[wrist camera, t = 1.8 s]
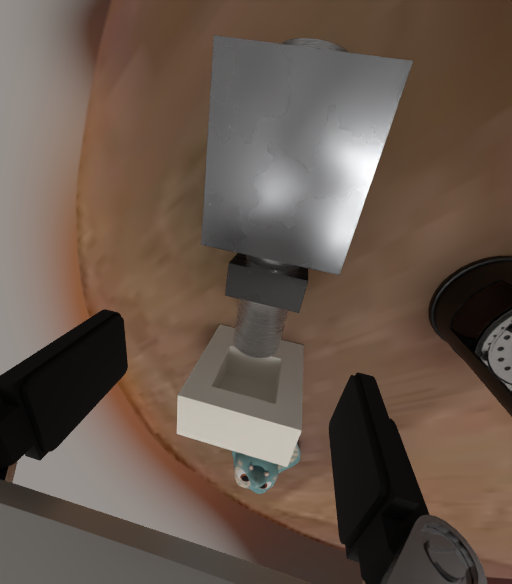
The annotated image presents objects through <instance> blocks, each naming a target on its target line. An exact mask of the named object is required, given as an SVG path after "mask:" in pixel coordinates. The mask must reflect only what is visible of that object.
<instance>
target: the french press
mask: <svg viewBox="0 0 512 584" xmlns="http://www.w3.org/2000/svg"><path fill="white" fill-rule="evenodd" d="M499 281H501V282H503V283H505V284H507V285H509V286H511V287H512V256H498V257H492V258H486V259H483V260H480V261H477V262H474V263H471V264H469V265H467V266H465V267H463V268H461V269H459V270H458V271H456V272H455V273H453V274H452V275H450V276H449V277H448V278H447V279H446V280H445V281H444V282H443V283H442V284H441V285H440V287H439V288H438V289H437V290H436V292H435V294H434V296H433V298H432V300H431V303H430V307H429V319H430V322H431V326H432V327H433V329H434V331H435V332H436V333H437V334H438V335H439V336H440V337H441V338H442V339H443V340H444V341H446V342H447V343H448V344H449V345H450V346H451V347H452V349H453V350H454V351H455V352H456V353H457V354H458V355H459V356H460V357H461V358H462V359H463V360H464V361H465V362H466V363H467V364H468V365H469V367H470V368H471V369H472V370H473V371H474V373H475V374H476V375H477V376H478V377H479V379H480V380H481V381H482V382H483V383H484V384H485V386H486V387H487V388H488V389H489V390H490V392H491V393H492V394H493V395H494V396H495V397H496V399H497V400H498V401H499V402H500V403H501V405H502V406H503V407H504V408H505V409H506V410H507V412H508V413H509V414H510V415H511V416H512V306H511V307H509V308H507V309H506V310H504V311H502V312H501V313H499V314H498V315H497V316H495V317H494V318H493V319H492V320H490V321H489V322H488V324H487V325H486V326H485V327H484V328H483V329H482V330H481V332H480V333H479V335H478V336H477V338H476V339H474V338H469V337H465V336H462V335H460V334H458V333H457V332H455V331H454V330H453V329H452V325H453V321H454V318H455V317H456V315H457V313H458V311H459V310H460V309H461V308H462V306H463V305H464V304H465V303H466V302H467V301H468V300H469V299H470V298H472V297H473V296H474V295H475V294H476V293H478V292H480V291H481V290H483V289H485V288H486V287H488V286H490V285H492V284H495V283H497V282H499Z"/></svg>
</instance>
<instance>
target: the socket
mask: <svg viewBox="0 0 512 584" xmlns="http://www.w3.org/2000/svg"><path fill="white" fill-rule="evenodd" d="M234 333H235V328H233V327H229V326H225V325H221V324H220V325H219V327H218V328H217V330H216V332H215V333H214V335H213V337H212V338H211V340H210V342H209V343H208V345H207V347H206V348H205V350H204V352H203V354H202V355H201V357H200V359H199V360H198V362H197V364H196V365H195V367H194V369H193V370H192V372H191V374H190V375H189V377H188V379H187V380H186V382H185V384H184V386H183V387H182V389H181V391H180V392H179V394H178V407H177V434H179V435H182V436H186V437H189V438H192V439H196V440H199V441H202V442H205V443H209V444H212V445H215V446H219V447H222V448H225V449H229V450H232V451H235V452H238V453H242V454H245V455H248V456H252V457H255V458H258V459H262V460H265V461H268V462H271V463H275V464H278V465H281V466H285V467H288V464H289V462H290V459H291V457H292V454H293V452H294V449H295V446H296V444H297V441H298V439H299V436H300V434H301V431H302V399H303V359H304V345H301V344H297V343H293V342H289V341H285V340H280V344H279V348H278V351H277V352H276V353H275V354H274V355H272V356H270V357H267V358H254V357H250V356H247V355H245V354H243V353H241V352H240V351H239V350H238V349H237V348H236V347H235V345H234V341H233V340H234Z"/></svg>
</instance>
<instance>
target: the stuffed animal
mask: <svg viewBox="0 0 512 584" xmlns="http://www.w3.org/2000/svg"><path fill="white" fill-rule="evenodd" d="M232 455H233V459H234V473H235V480H236V482H237V483H238V485H239V486H241V487H243V488H249V489H251V490H252V491H253V492H255V493H257V494H262V493H264V492H266V491H267V490H268V489H269V488H271V487H272V486H273V485H274V483H275V481H276V479H277V477H278V474H279V473H281V472H282V471H284V470H286V469H288V468H290V467H293V466H294V465H296V464H297V463H298V462H299V461H300V450H299V447H298V444H296V446H295V449H294V452H293V454H292V457H291V459H290V462H289V464H288V467H285V466H281V465H278V464H275V463H271V462H268V461H265V460H262V459H258V458H255V457H252V456H248V455H245V454H242V453H238V452H235V451H232Z"/></svg>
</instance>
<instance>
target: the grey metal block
mask: <svg viewBox="0 0 512 584" xmlns="http://www.w3.org/2000/svg"><path fill="white" fill-rule="evenodd" d="M412 63H413V61H409V60H402V59H394V58H386V57H378V56H371V55H363V54H355V53H347V52H340V51H332V50H324V49H316V48H309V47H301V46H293V45H285V44H278V43H270V42H262V41H254V40H247V39H239V38H231V37H223V36H216V35H214V43H213V59H212V76H211V92H210V109H209V125H208V142H207V158H206V175H205V191H204V208H203V224H202V241H201V245H205V246H209V247H214V248H218V249H223V250H228V251H232V252H237V253H241V254H246V255H250V256H255V257H260V258H264V259H269V260H273V261H278V262H282V263H287V264H292V265H296V266H301V267H305V268H310V269H314V270H319V271H323V272H328V273H333V274H337V275H340V272H341V269H342V266H343V263H344V260H345V257H346V254H347V251H348V249H349V246H350V243H351V240H352V237H353V234H354V231H355V228H356V225H357V222H358V220H359V217H360V214H361V211H362V208H363V205H364V202H365V199H366V196H367V193H368V190H369V188H370V185H371V182H372V179H373V176H374V173H375V170H376V167H377V164H378V161H379V158H380V156H381V153H382V150H383V147H384V144H385V141H386V138H387V135H388V132H389V129H390V127H391V124H392V121H393V118H394V115H395V112H396V109H397V106H398V103H399V100H400V97H401V95H402V92H403V89H404V86H405V83H406V80H407V77H408V74H409V71H410V68H411V65H412Z"/></svg>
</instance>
